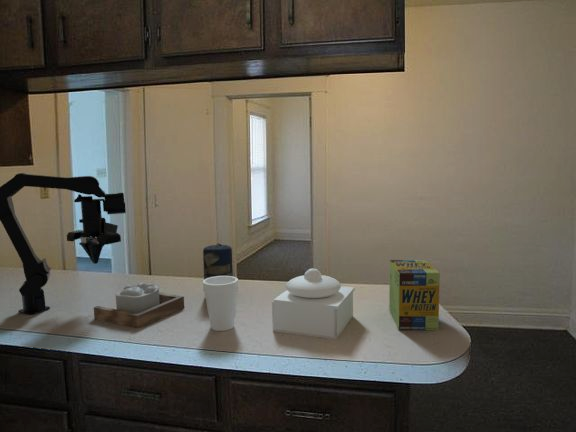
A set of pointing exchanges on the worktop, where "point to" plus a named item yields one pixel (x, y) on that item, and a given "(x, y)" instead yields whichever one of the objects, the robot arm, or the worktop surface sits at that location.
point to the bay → (143, 318)
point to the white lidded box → (313, 306)
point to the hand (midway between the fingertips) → (95, 263)
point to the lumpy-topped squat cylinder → (137, 297)
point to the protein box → (414, 294)
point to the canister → (217, 261)
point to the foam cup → (221, 301)
